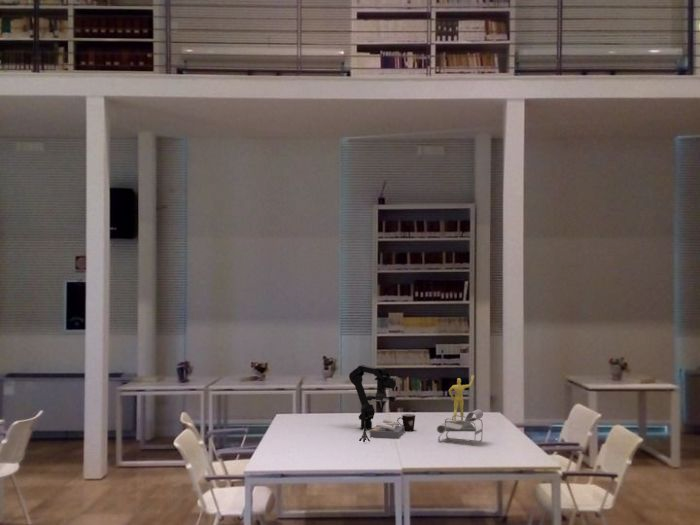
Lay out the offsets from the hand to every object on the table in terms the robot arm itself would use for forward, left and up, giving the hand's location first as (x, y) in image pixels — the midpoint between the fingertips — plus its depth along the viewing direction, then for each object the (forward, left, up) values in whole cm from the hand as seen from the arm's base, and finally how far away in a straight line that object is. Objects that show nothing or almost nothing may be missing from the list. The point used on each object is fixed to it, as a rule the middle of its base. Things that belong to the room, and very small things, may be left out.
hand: (381, 411), depth 520 cm
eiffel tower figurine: (-4, -33, -14) cm, 36 cm away
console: (+6, -10, -13) cm, 17 cm away
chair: (+53, -22, -13) cm, 59 cm away
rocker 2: (+7, -3, -6) cm, 10 cm away
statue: (+48, +23, -13) cm, 55 cm away
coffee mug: (+15, +8, -13) cm, 22 cm away
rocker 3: (+7, -10, -6) cm, 14 cm away
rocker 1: (+7, -17, -6) cm, 20 cm away
